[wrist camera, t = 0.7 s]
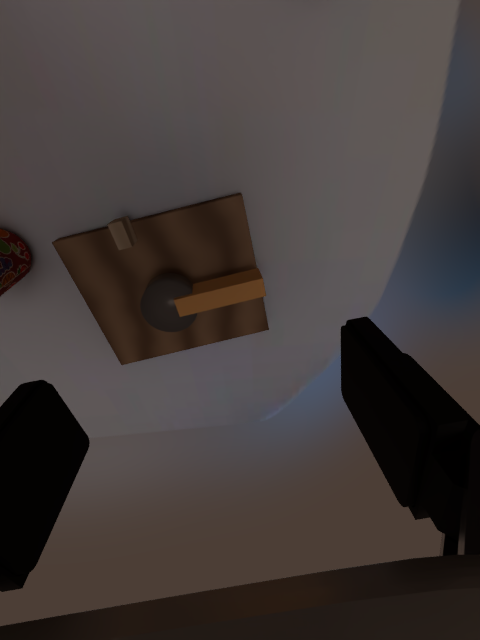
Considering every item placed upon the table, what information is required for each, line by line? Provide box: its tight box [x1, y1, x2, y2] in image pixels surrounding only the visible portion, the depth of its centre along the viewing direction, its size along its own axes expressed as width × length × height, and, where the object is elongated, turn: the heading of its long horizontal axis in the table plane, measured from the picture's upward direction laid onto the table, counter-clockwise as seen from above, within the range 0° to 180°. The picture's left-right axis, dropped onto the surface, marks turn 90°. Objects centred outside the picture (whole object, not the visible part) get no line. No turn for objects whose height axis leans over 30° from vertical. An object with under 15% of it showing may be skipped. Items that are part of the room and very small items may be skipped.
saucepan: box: [140, 268, 266, 332], centre depth 36 cm, size 16×7×4 cm, turn 103°
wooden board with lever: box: [52, 193, 269, 365], centre depth 39 cm, size 24×21×5 cm
